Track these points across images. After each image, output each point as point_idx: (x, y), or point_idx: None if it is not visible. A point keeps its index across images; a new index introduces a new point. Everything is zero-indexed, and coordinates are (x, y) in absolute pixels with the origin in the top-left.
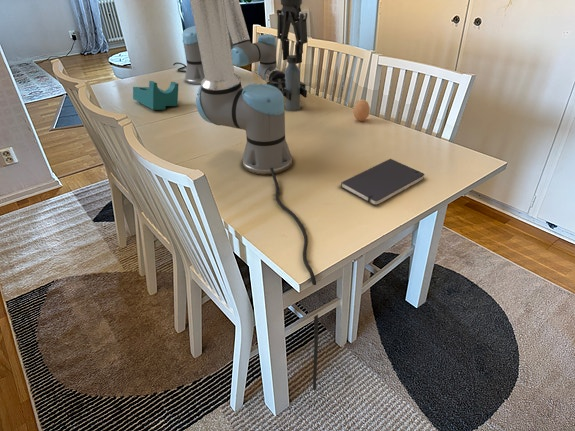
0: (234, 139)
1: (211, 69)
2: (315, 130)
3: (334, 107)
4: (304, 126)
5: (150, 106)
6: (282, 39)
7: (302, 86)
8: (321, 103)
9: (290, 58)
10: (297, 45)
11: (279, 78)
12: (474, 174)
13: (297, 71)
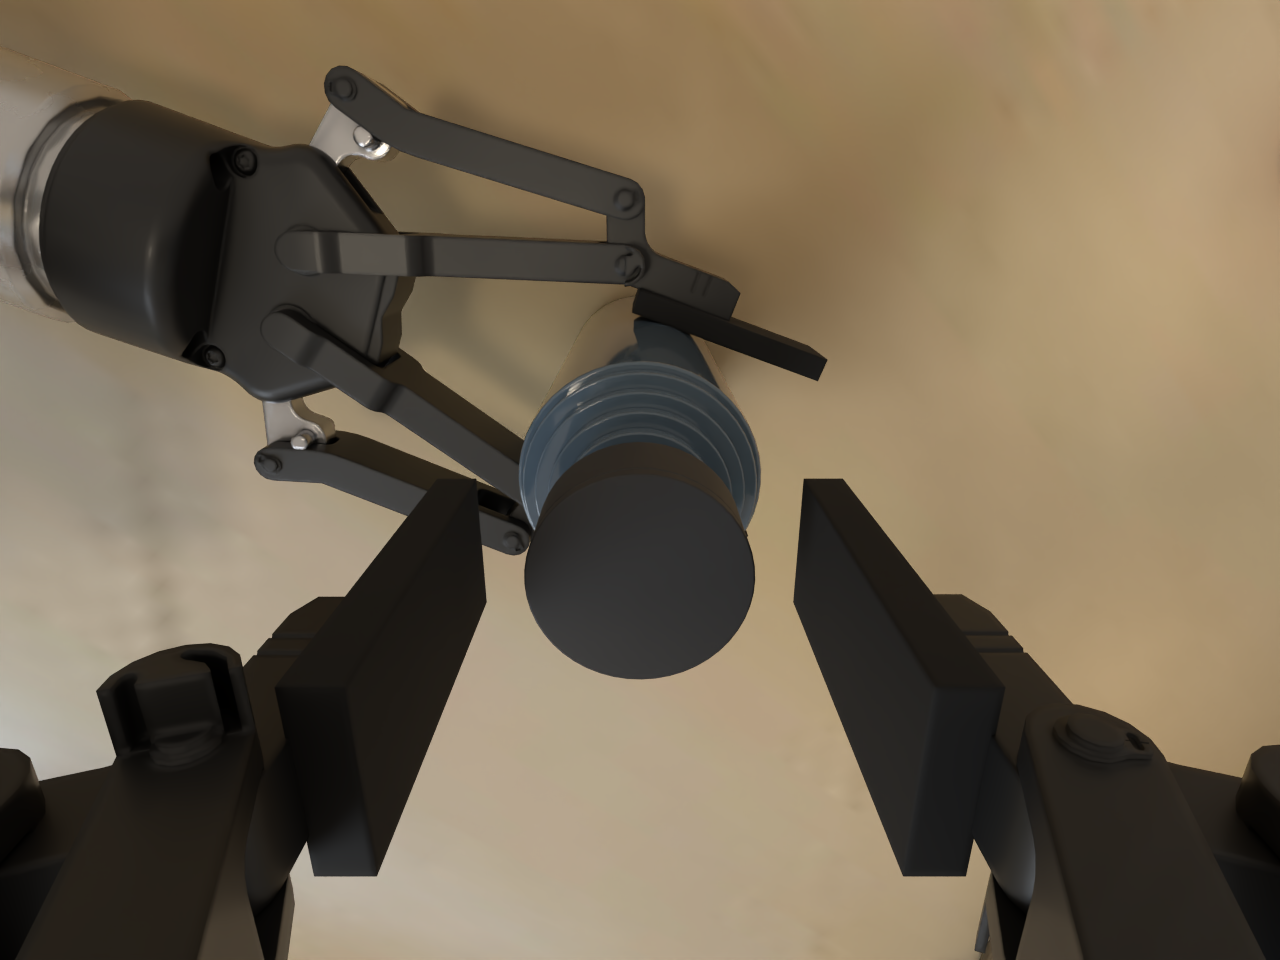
0: (754, 928)
1: None
2: (1087, 553)
3: (939, 48)
4: (975, 559)
5: None
6: (272, 929)
7: (637, 241)
8: (759, 60)
9: (689, 662)
10: (965, 839)
11: (268, 316)
12: None
13: (755, 485)
